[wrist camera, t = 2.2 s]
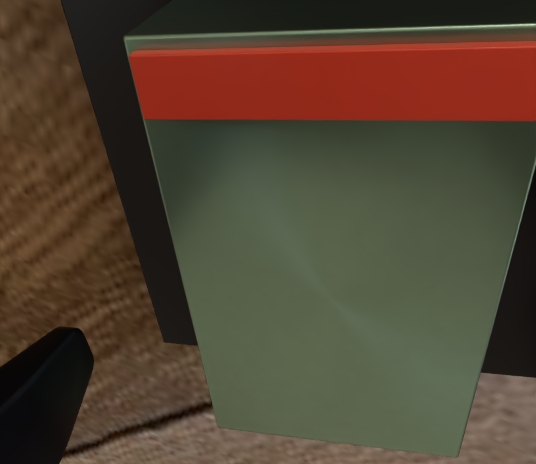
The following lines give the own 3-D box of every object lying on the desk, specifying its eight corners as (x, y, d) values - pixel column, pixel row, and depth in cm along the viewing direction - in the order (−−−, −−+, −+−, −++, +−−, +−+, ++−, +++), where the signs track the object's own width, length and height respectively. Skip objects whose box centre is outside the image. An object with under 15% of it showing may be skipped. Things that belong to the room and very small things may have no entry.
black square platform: (540, 335, 19) (554, 380, 17) (179, 306, 21) (163, 343, 20) (754, -270, 9) (829, -293, 8) (53, -182, 12) (3, -186, 10)
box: (441, 309, 16) (459, 468, 12) (256, 295, 17) (214, 437, 13) (503, -49, 10) (581, 27, 6) (213, -32, 11) (113, 40, 7)
